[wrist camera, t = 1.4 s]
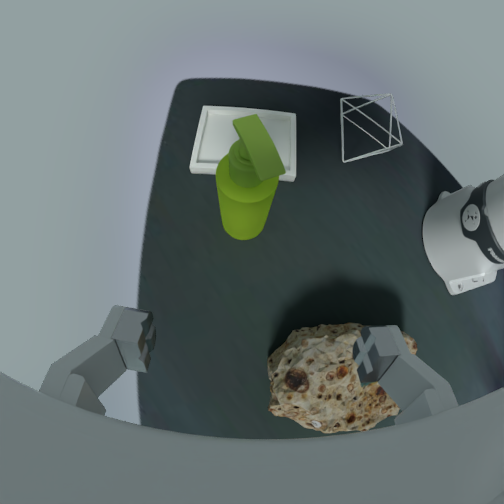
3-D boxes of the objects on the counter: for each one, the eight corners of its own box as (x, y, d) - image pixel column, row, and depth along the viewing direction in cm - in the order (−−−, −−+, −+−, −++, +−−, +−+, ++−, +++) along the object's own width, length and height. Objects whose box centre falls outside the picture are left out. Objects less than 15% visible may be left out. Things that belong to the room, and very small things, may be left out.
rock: (396, 314, 37) (440, 331, 27) (376, 396, 37) (410, 425, 27) (266, 312, 34) (288, 339, 24) (254, 408, 34) (268, 453, 24)
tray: (293, 120, 42) (295, 113, 40) (293, 181, 39) (295, 176, 37) (204, 112, 41) (203, 105, 39) (191, 173, 38) (189, 167, 37)
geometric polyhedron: (368, 184, 40) (396, 156, 31) (314, 142, 41) (331, 107, 32) (394, 142, 43) (418, 114, 34) (347, 106, 43) (364, 74, 35)
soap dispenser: (233, 253, 36) (231, 187, 17) (215, 207, 37) (199, 111, 18) (274, 238, 37) (314, 161, 18) (255, 194, 38) (272, 93, 19)
